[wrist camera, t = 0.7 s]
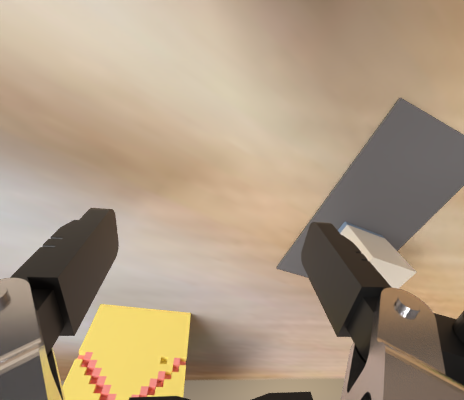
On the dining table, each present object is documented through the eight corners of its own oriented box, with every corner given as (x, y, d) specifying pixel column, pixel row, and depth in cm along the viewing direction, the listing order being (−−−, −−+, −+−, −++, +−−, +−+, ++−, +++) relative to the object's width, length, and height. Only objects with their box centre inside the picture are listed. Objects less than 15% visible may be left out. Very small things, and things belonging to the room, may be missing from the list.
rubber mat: (399, 97, 26) (401, 98, 25) (493, 153, 30) (495, 153, 29) (276, 267, 38) (276, 268, 37) (355, 289, 42) (356, 291, 41)
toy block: (178, 356, 49) (166, 461, 37) (101, 351, 47) (59, 463, 34) (190, 312, 42) (180, 424, 29) (100, 303, 40) (46, 422, 27)
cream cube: (344, 221, 33) (373, 257, 27) (382, 235, 35) (416, 272, 29) (316, 256, 36) (336, 295, 30) (352, 267, 38) (378, 306, 32)
